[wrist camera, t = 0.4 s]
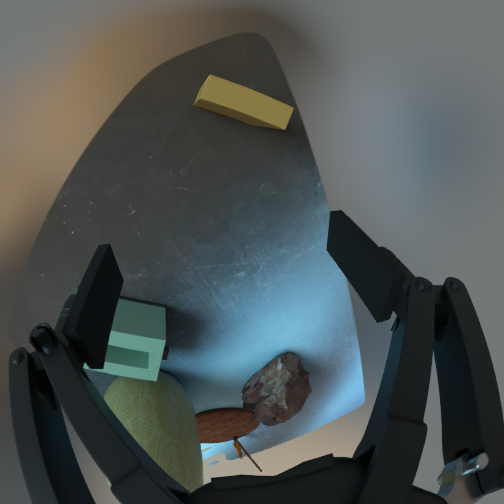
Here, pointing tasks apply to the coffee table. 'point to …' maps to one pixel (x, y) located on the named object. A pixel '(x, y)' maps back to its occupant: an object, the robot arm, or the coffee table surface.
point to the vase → (160, 424)
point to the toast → (242, 104)
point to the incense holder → (226, 427)
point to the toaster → (136, 340)
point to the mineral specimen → (277, 390)
